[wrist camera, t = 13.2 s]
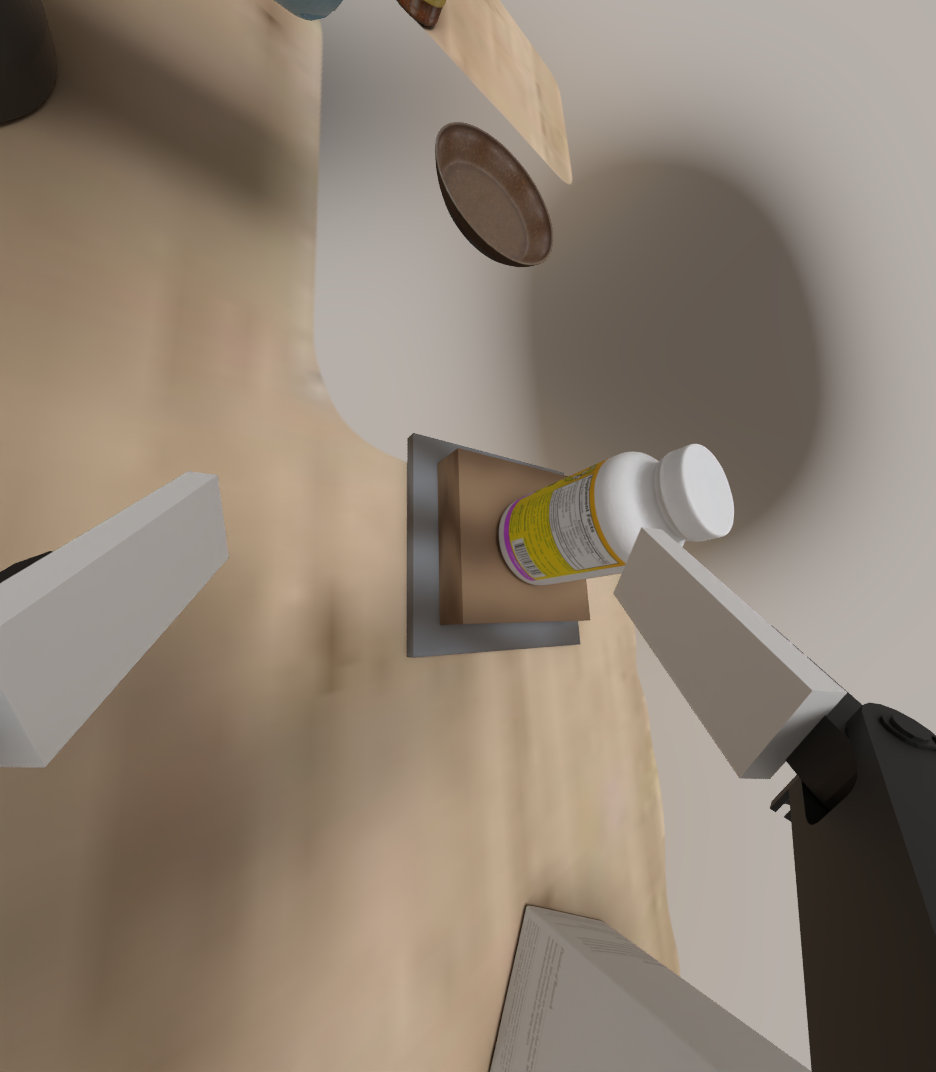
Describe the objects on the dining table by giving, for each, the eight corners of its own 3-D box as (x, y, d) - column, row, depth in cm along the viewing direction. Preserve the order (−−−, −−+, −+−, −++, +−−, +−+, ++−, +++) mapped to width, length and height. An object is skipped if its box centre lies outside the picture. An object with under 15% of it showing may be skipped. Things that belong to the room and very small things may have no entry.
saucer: (470, 287, 37) (487, 265, 35) (395, 137, 36) (408, 105, 34) (555, 279, 46) (572, 261, 44) (497, 159, 45) (512, 134, 42)
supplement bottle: (562, 514, 32) (737, 455, 21) (559, 594, 29) (752, 572, 19) (498, 487, 28) (668, 400, 18) (488, 575, 26) (676, 535, 16)
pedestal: (407, 438, 30) (432, 414, 26) (556, 476, 38) (588, 461, 35) (406, 656, 26) (435, 659, 23) (571, 644, 35) (609, 644, 31)
